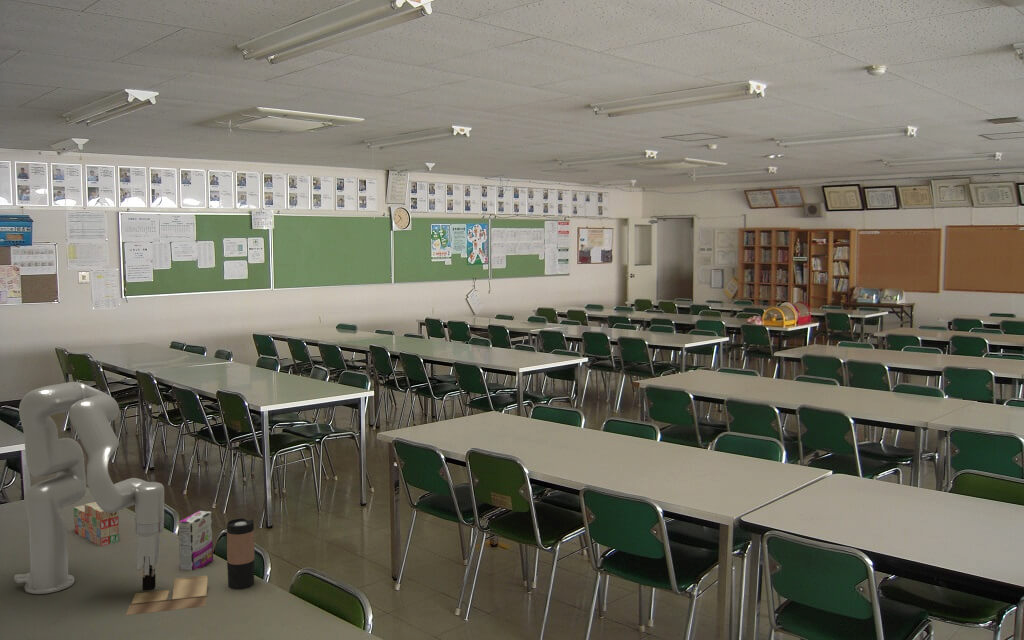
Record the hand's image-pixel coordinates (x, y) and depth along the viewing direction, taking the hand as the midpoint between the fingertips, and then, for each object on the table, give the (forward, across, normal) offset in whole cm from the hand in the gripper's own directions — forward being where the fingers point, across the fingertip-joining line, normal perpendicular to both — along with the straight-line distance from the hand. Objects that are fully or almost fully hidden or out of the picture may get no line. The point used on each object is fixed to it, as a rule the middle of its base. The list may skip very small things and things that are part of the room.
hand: (148, 588), depth 224 cm
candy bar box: (+3, -20, +11) cm, 23 cm away
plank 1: (+2, +3, +1) cm, 4 cm away
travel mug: (+2, 0, +25) cm, 25 cm away
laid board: (+2, +10, +6) cm, 12 cm away
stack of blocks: (+4, -59, -24) cm, 64 cm away
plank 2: (0, +2, +11) cm, 12 cm away
